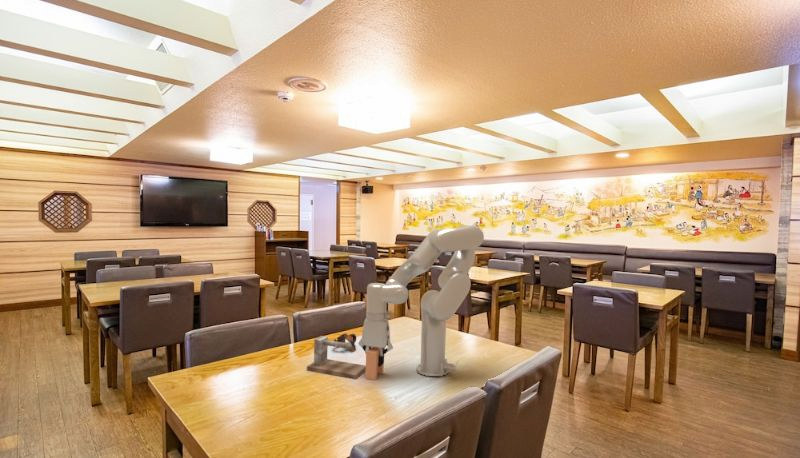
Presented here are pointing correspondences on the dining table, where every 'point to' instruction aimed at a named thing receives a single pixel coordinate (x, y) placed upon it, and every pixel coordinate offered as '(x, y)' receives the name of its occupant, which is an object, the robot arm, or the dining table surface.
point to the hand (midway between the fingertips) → (374, 364)
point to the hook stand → (332, 366)
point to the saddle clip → (373, 363)
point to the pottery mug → (349, 338)
